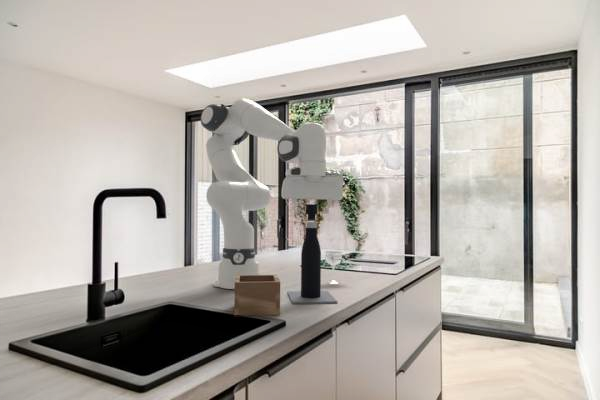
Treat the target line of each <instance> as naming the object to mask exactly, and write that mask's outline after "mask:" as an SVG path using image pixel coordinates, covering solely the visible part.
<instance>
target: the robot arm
mask: <svg viewBox="0 0 600 400" xmlns="http://www.w3.org/2000/svg"><path fill="white" fill-rule="evenodd" d="M200 124H201V126H202V127H203V128H204V129H206V130H207V131H209V132H212V133H213V134H214V135H212V136H210V137H209V138H208V139H207V140H206V144H205V145H206V146H205V147H206V153H207V154H206V155H207V157H208V161H209V164H210V166H211V168H212V171H213V174H214V176H215V178H216V179H217V181H215V182H212V183H211V184H210V185H209V186H208V188H207V191H206V196H205V197H206V201H207V203H208V205H209V206H210V207H211V208H212V209H213V210H214V211H215V212H216V213H217V214H218V217H219V218H220V220H221V223H222V226H223V227H222V228H223V229H222V230H223V247H222V258H223V259H222V260H221V261H220V262H219V263H218V264H217V265H218V266H217V269H218V271H217V280H216V281H214V282H213V283H212V287H217V288H222V289H229V290H235V278H236V275H260V271H259V269H260V265H259V262H258V261H257V260H256V259H255V257H256V248H255V229H254V226H253V225H252V224H251V223H250V222H249V221H247V220H246V218H244V215H243V212H247V211H248V212H250V211H251V212H253V211H259V210H263V209H266V208H267V207H268V206H269V204H270V202H271V198H272V197H271V196H272V195H271V191H270V189H269V187H268V186H267V185H266V184H264V183H262V182H260V181H258V180H257V179H255V177H254V176H252V175H251V174H250V173H249V172H248V170H246V168H245V167H244V165H243V164H242V162H241V160H240V158H239V156H238V153H237V151H236V150H235V148H234V146H237V145H240V144H241V143H242V142H243V141H245V140H246V139H247V138H248V137H249V135H252V136H255V137H257V138H260V139H266V140H273V141H278V143H277V147H276V148H277V154H278V157H279V159H280V160H281V161H282V162H285V163H290V164H295V165H298V166H294V167H291V168H288V169H286V170H285V176H286V177H284V179H283V181H282V186H281V192H280V193H281V195H280V196H281V198H282V199H284V200H291V203H292V205H293V207H294V211H295V214H301V207H298V205H297V203H298V200H324V201H325V200H326V204H327V205H326V206H325V207H323V214H324V215H325V214H329V213H330V208H331V206H332V204H333V200H336V201H338V200H339V201H340V200H342V199H343V197H344V189H343V184H344V175H343V174H342V173H340V172H339V171H334V172H333V171H327V161H326V151H327V136H326V135H327V133H326V129H325V127H324V126H323V125H322V124H321V123H317V122H310V121H305V122H302V123H301V124H300V125H299V127H298V128H297V129H294V128H293V127H291V126H289V125H288V124H285V123H284V122H283V121H282V120H280V119H279V118H277V117H276V116H275V115H274V114H272V113H271V112H269V110H267V109H265V108H264V107H263V106H262V105H260V104H259V103H257V102H255V101H254V100H251V99H248V98H245V97H244V98H243V97H242V98H239V99H237V100H235V101H234V102H233V104H232V105H231V106H230V107H229V106H226V104H225V103H220V104H214V103H213V104H209V105H207V106H206V107H204V108H203V110H202V112H201V114H200Z"/></svg>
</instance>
